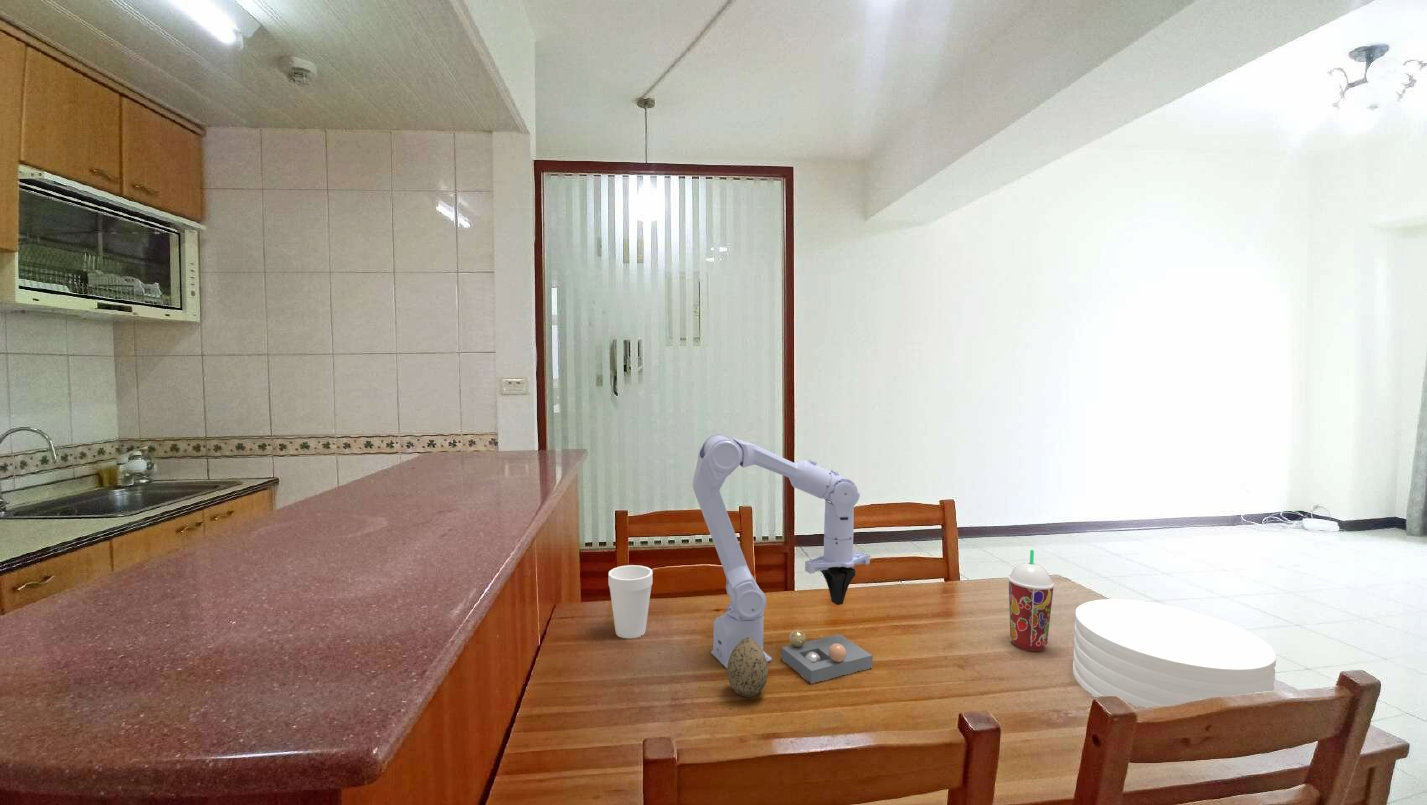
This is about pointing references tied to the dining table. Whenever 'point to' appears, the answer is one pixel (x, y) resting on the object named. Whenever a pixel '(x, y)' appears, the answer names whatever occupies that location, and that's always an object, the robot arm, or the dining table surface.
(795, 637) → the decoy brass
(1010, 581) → the smoothie
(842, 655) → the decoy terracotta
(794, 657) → the grey tray with hole
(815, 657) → the steel ball
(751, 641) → the decorative egg
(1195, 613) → the plate stack
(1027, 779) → the dining table surface
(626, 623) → the foam cup
